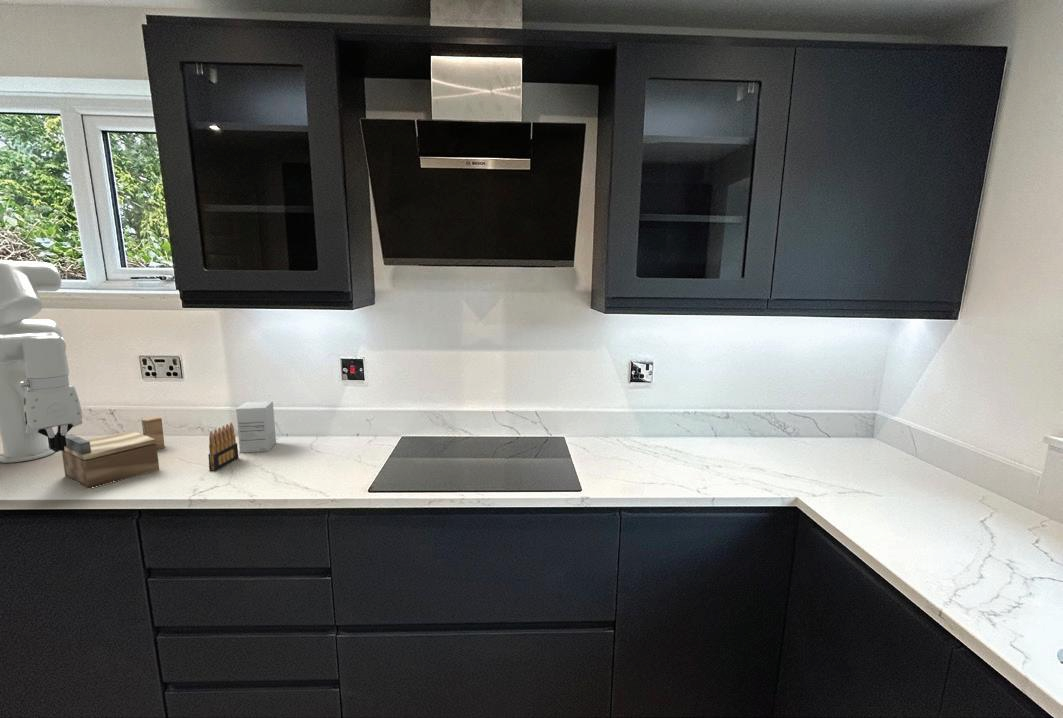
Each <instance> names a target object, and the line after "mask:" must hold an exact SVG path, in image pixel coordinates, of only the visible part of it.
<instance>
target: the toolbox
mask: <svg viewBox="0 0 1063 718" xmlns="http://www.w3.org/2000/svg"><path fill="white" fill-rule="evenodd" d="M158 455H159V454H158V449H157V444H150V445H146V446H142V447H137V448H133V449H129V450H125V451H121V452H116V453H112V454H108V455H104V456H100V457H96V458H91V459H87V460H83V459H81V458H79V457H77V456H75V455H73V454H70V453H68V452H66V451H61V456H62V463H63V471H64V475H65V478H67V479H69V478H70V480H71V479H72V480H71V481H73V480H74V482H75V481H76V482H75V483H77V482H78V483H77V484H79V483H80V484H79V485H81V486H82V485H83V486H82V487H84V486H85V487H84V488H86V487H87V488H86V489H88V488H91V489H93V488H92V487H95V488H97V487H96V486H98V487H100V486H99V485H102V486H104V485H103V484H105V485H107V484H106V483H109V484H111V483H110V482H112V483H114V482H113V481H116V482H119V481H122V480H121V479H123V480H126V479H125V478H127V479H130V478H133V476H134V477H137V476H140V474H141V475H144V474H147V473H151V472H155V471H157V470H160V463H159V456H158ZM136 475H137V476H136ZM129 477H130V478H129ZM118 480H119V481H118Z"/></svg>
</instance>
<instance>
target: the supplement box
mask: <svg viewBox="0 0 1063 718" xmlns="http://www.w3.org/2000/svg"><path fill="white" fill-rule="evenodd" d="M235 411H236V412H235V413H236V422H237V435H238V445H239V453H240V454H241V453H244V454H245V453H257V452H269V451H271V449H272V448H273V446H274V445H276V443H277V438H276V437H277V436H276V425H275V413H274V412H275V411H274V401H273V400H271V401H270V400H269V401H247V402H246V401H245V402H244V403H243V404H241V405H240V406H238V407H237V408H236V409H235Z"/></svg>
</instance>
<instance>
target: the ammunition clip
mask: <svg viewBox="0 0 1063 718" xmlns="http://www.w3.org/2000/svg"><path fill="white" fill-rule="evenodd" d="M208 437H209V443H208V449H209V451H208V452H209V454H208V468H209V472H217V471H219V470H221V469H224V467H226V466H228V465H230V464H232V463H233V462H235V461H237V460H239V449H238V443H237V442H236V435H235V429H234V425H233V423H232V422H230V423H229V424H228V423H227V424H226V425H225V426H224V425H223V426H222V428H221V427H218V429H214V432H213V431H211V430H210V432H209V436H208Z"/></svg>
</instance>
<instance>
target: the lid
mask: <svg viewBox="0 0 1063 718" xmlns="http://www.w3.org/2000/svg"><path fill="white" fill-rule="evenodd" d="M65 438H66V446H64V449H65V450H64V451H66V452H68V453H70V454H73V455H75V456H77V457H79V458H81V459H83V460H87V459H91V458H96V457H100V456H104V455H108V454H112V453H116V452H121V451H125V450H129V449H133V448H137V447H142V446H146V445H150V444H154V443H156V440H155V439H154V438H151V437H148V436H145V435H143V433H139V432H136V431H134V430H128V431H123V432H118V433H114V434H109V435H103V436H99V437H94V438H90V439H84V438H82V437H80V436H78V435H75V434H73V433H72V434H66V435H65Z"/></svg>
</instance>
